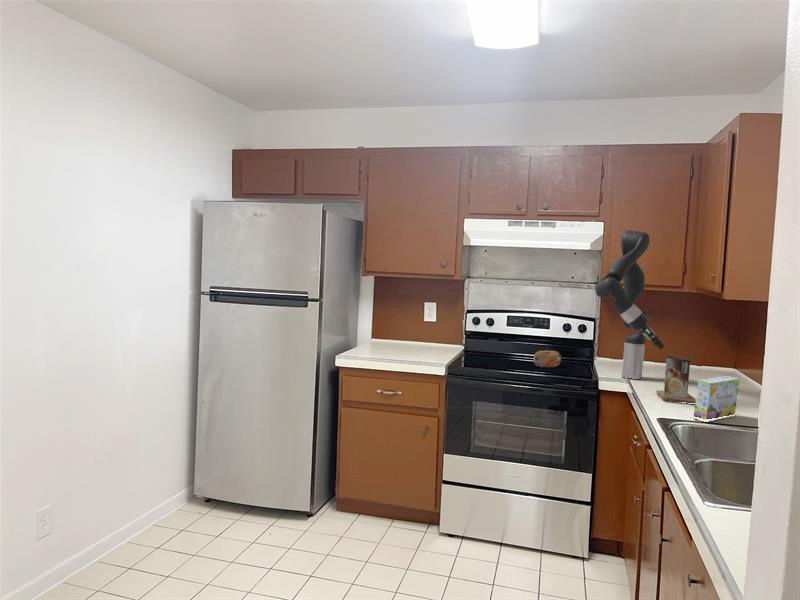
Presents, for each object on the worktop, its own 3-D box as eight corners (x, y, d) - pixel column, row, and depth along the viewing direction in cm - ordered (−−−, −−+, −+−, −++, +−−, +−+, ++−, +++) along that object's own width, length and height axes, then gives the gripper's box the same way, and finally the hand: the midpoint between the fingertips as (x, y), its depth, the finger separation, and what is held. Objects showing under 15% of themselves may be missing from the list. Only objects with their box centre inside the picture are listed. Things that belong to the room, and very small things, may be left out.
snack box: (707, 423, 215) (712, 382, 214) (692, 419, 220) (696, 379, 218) (736, 416, 228) (740, 377, 226) (721, 413, 232) (725, 374, 231)
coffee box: (687, 395, 252) (690, 358, 250) (687, 398, 246) (691, 360, 245) (663, 392, 256) (666, 355, 254) (662, 395, 250) (666, 357, 248)
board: (656, 393, 259) (656, 390, 259) (688, 397, 256) (688, 393, 256) (663, 401, 245) (663, 398, 245) (697, 405, 243) (697, 401, 243)
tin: (534, 367, 306) (536, 351, 305) (531, 366, 309) (533, 349, 308) (561, 367, 310) (562, 351, 309) (558, 366, 313) (559, 350, 312)
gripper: (644, 312, 244) (671, 343, 243) (637, 309, 258) (663, 338, 257) (629, 324, 246) (656, 354, 244) (623, 320, 260) (649, 349, 258)
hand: (660, 346), depth 251 cm, fingers open, 8 cm apart
